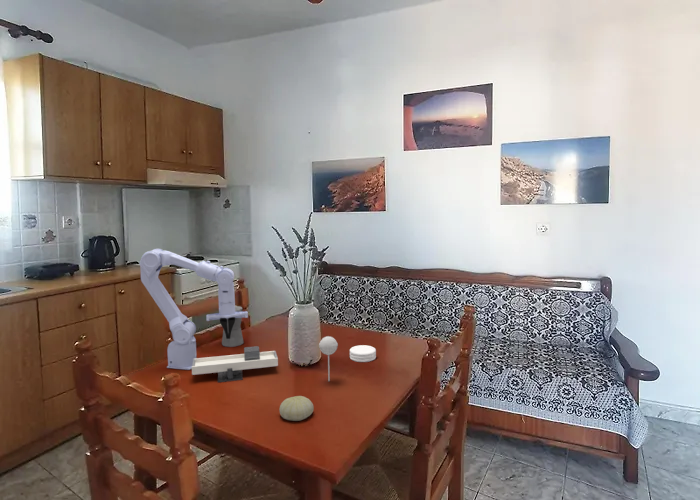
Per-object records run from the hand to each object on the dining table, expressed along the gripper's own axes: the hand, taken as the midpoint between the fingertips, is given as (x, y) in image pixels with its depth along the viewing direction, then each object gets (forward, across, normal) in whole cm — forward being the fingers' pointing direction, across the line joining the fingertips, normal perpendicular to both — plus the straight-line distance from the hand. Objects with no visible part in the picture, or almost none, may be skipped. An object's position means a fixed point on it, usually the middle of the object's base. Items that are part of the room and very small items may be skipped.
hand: (228, 338), depth 161 cm
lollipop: (+10, +32, -27) cm, 43 cm away
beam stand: (+9, 0, -12) cm, 15 cm away
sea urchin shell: (+10, +18, -47) cm, 51 cm away
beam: (+7, +2, -12) cm, 14 cm away
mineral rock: (+10, +26, -7) cm, 29 cm away
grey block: (+5, +8, -12) cm, 15 cm away
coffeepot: (+10, +1, +24) cm, 26 cm away
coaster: (+10, +49, -10) cm, 51 cm away
